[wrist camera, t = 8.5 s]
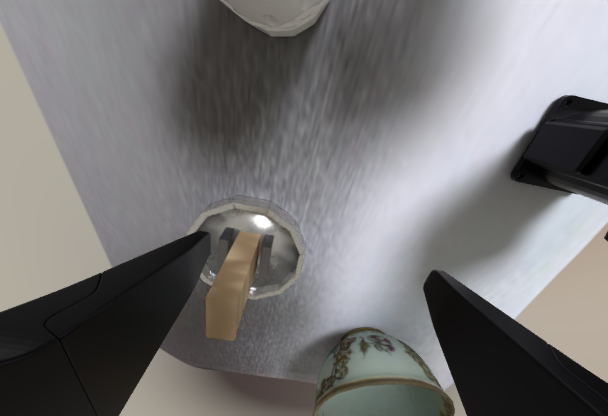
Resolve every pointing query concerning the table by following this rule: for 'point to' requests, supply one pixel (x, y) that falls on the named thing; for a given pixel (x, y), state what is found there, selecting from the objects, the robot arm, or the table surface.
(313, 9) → the white cup
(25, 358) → the robot arm
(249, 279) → the wooden plank
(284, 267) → the tin
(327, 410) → the bowl
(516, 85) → the table surface
